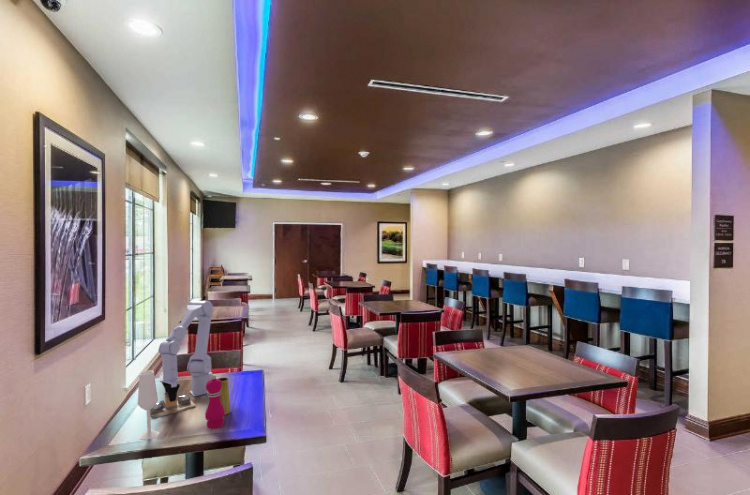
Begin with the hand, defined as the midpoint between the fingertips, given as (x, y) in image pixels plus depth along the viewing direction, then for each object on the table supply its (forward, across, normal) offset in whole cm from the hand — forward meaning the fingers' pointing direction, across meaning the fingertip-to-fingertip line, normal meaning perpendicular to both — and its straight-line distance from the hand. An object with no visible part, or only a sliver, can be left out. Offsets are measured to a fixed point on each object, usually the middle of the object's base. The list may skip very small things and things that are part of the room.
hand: (171, 399), depth 181 cm
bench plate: (+4, 0, 0) cm, 4 cm away
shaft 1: (+4, +2, -6) cm, 7 cm away
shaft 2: (+4, 0, +5) cm, 7 cm away
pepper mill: (+4, +30, +10) cm, 31 cm away
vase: (+4, +20, +16) cm, 26 cm away
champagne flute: (+4, +22, -12) cm, 25 cm away
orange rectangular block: (+3, 0, 0) cm, 3 cm away
